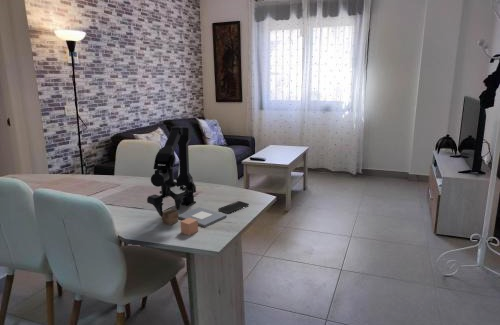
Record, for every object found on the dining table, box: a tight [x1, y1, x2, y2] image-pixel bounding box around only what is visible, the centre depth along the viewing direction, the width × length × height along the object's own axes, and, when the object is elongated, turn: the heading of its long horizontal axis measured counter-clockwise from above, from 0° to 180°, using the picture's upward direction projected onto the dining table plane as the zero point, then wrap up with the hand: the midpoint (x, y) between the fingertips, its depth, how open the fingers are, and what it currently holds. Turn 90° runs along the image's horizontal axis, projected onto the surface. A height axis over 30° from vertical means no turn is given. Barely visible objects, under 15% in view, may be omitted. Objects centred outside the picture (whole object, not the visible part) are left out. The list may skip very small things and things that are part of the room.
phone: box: [218, 200, 250, 215], centre depth 174 cm, size 8×1×15 cm
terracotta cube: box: [179, 218, 199, 236], centre depth 147 cm, size 5×5×5 cm
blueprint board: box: [178, 206, 227, 228], centre depth 162 cm, size 18×14×1 cm
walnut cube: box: [161, 208, 179, 226], centre depth 158 cm, size 5×5×5 cm
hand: (169, 213), depth 157 cm, fingers open, 9 cm apart
